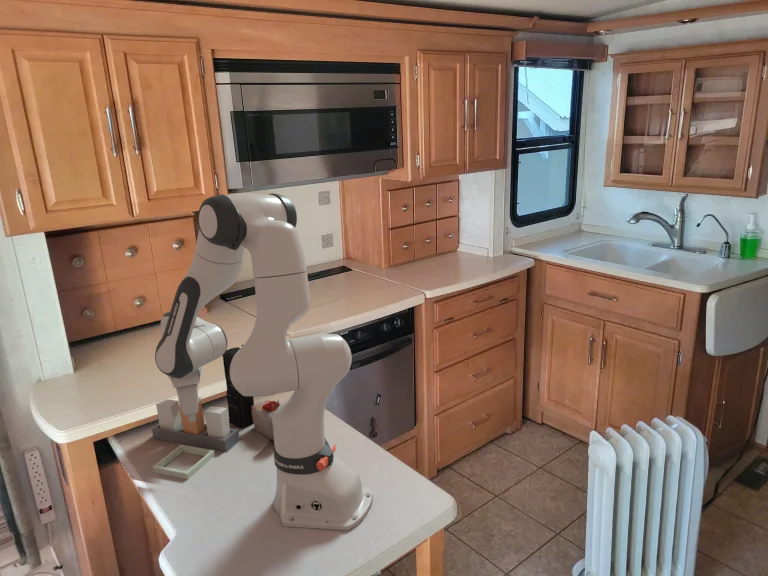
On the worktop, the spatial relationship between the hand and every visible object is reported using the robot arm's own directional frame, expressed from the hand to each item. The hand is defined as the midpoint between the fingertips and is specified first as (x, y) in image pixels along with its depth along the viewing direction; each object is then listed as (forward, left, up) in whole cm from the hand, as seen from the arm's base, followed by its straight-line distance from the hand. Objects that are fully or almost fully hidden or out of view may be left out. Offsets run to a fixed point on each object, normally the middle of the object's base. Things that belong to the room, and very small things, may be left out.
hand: (192, 415), depth 153 cm
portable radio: (-7, -12, -9) cm, 16 cm away
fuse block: (0, 0, -8) cm, 8 cm away
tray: (-5, +11, -8) cm, 15 cm away
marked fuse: (0, 0, -5) cm, 5 cm away
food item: (-19, -10, -9) cm, 23 cm away
